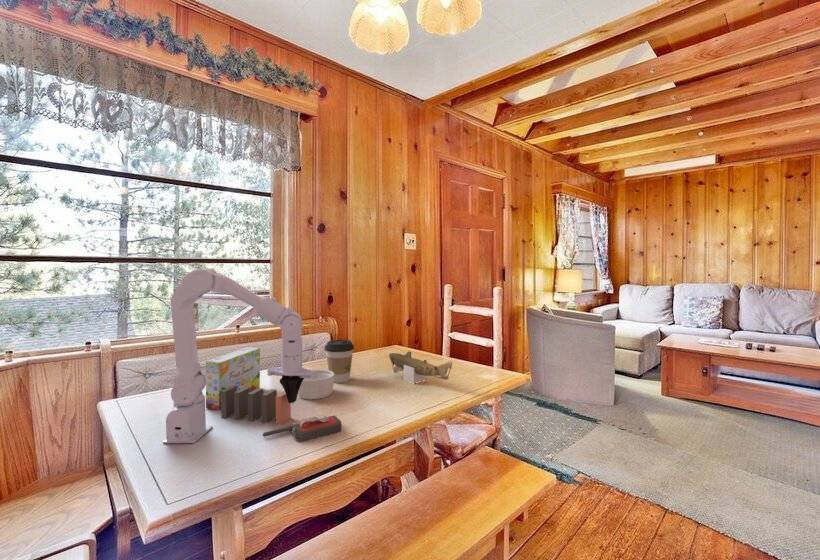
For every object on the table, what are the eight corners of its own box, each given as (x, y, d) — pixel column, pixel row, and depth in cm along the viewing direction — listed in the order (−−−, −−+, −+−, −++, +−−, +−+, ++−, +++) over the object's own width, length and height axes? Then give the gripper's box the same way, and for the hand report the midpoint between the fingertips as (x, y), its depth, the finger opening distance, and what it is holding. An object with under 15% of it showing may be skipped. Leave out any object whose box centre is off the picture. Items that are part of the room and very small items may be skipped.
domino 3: (263, 414, 114) (263, 388, 113) (253, 421, 109) (252, 394, 108) (259, 414, 114) (258, 388, 114) (248, 421, 109) (247, 393, 109)
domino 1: (237, 411, 116) (237, 386, 115) (226, 418, 111) (225, 391, 110) (233, 411, 116) (232, 385, 116) (221, 417, 111) (220, 391, 111)
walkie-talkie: (334, 421, 110) (261, 438, 99) (334, 406, 110) (261, 421, 99) (346, 432, 103) (269, 452, 92) (346, 416, 103) (269, 434, 92)
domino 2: (250, 413, 115) (250, 387, 114) (239, 420, 110) (238, 392, 109) (246, 412, 115) (245, 386, 115) (234, 419, 110) (234, 392, 110)
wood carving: (442, 397, 128) (442, 364, 128) (381, 373, 155) (381, 346, 155) (460, 391, 134) (460, 360, 133) (399, 369, 161) (399, 343, 160)
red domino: (290, 417, 111) (290, 390, 111) (281, 424, 107) (280, 396, 106) (285, 417, 112) (285, 390, 111) (276, 424, 107) (275, 396, 107)
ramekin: (314, 385, 140) (313, 367, 140) (342, 391, 134) (342, 372, 134) (286, 397, 129) (286, 376, 128) (316, 404, 122) (316, 382, 122)
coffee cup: (349, 386, 140) (349, 345, 139) (319, 384, 142) (319, 344, 141) (358, 376, 151) (358, 339, 150) (330, 375, 153) (330, 338, 152)
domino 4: (277, 416, 112) (276, 389, 112) (266, 423, 108) (266, 395, 107) (272, 415, 113) (271, 389, 112) (261, 422, 108) (261, 394, 108)
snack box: (221, 410, 117) (219, 362, 116) (205, 409, 118) (203, 361, 117) (261, 388, 138) (260, 347, 137) (247, 387, 139) (246, 346, 138)
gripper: (321, 352, 110) (322, 399, 110) (277, 349, 113) (277, 394, 114) (309, 358, 103) (310, 408, 103) (262, 355, 106) (263, 403, 107)
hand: (292, 401), depth 108 cm, fingers closed
